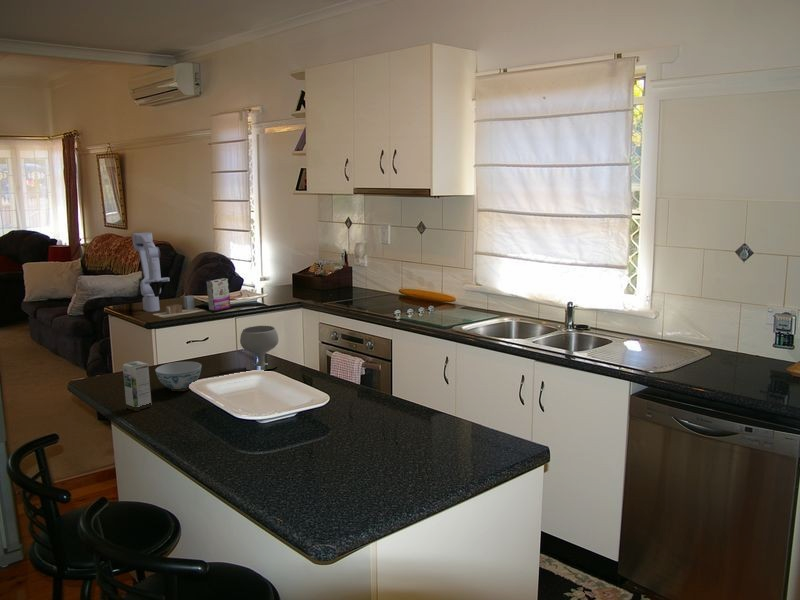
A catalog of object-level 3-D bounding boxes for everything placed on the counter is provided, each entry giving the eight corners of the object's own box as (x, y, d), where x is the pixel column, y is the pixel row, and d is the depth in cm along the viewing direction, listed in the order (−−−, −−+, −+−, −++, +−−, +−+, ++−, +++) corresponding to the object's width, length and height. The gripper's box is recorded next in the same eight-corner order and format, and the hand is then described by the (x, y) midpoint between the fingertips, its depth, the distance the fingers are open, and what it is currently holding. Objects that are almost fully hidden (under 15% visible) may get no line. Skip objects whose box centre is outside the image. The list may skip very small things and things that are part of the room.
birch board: (152, 315, 369) (151, 314, 368) (194, 308, 384) (194, 307, 384) (163, 319, 358) (163, 317, 358) (206, 312, 374) (206, 310, 374)
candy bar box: (225, 307, 386) (222, 278, 383) (230, 308, 383) (228, 278, 380) (208, 311, 377) (206, 280, 374) (214, 311, 374) (211, 281, 371)
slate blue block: (184, 309, 380) (183, 296, 379) (191, 308, 383) (190, 295, 381) (187, 310, 377) (186, 297, 376) (194, 308, 380) (193, 296, 378)
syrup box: (125, 409, 220) (121, 364, 217) (142, 403, 225) (138, 360, 222) (135, 412, 216) (131, 367, 214) (152, 407, 221) (148, 362, 218)
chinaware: (165, 399, 229) (163, 376, 227) (151, 388, 241) (149, 366, 239) (209, 389, 237) (208, 367, 236) (194, 380, 249) (192, 359, 248)
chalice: (275, 361, 271) (273, 323, 268) (283, 370, 258) (281, 330, 256) (239, 366, 266) (236, 327, 263) (245, 375, 253) (242, 335, 251)
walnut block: (165, 306, 368) (178, 304, 373) (166, 313, 369) (179, 311, 374) (169, 306, 366) (181, 305, 370) (169, 314, 366) (182, 312, 371)
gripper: (143, 272, 355) (146, 299, 357) (171, 269, 365) (173, 295, 367) (138, 271, 360) (140, 297, 363) (165, 268, 370) (167, 294, 372)
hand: (156, 296), depth 365 cm, fingers closed
